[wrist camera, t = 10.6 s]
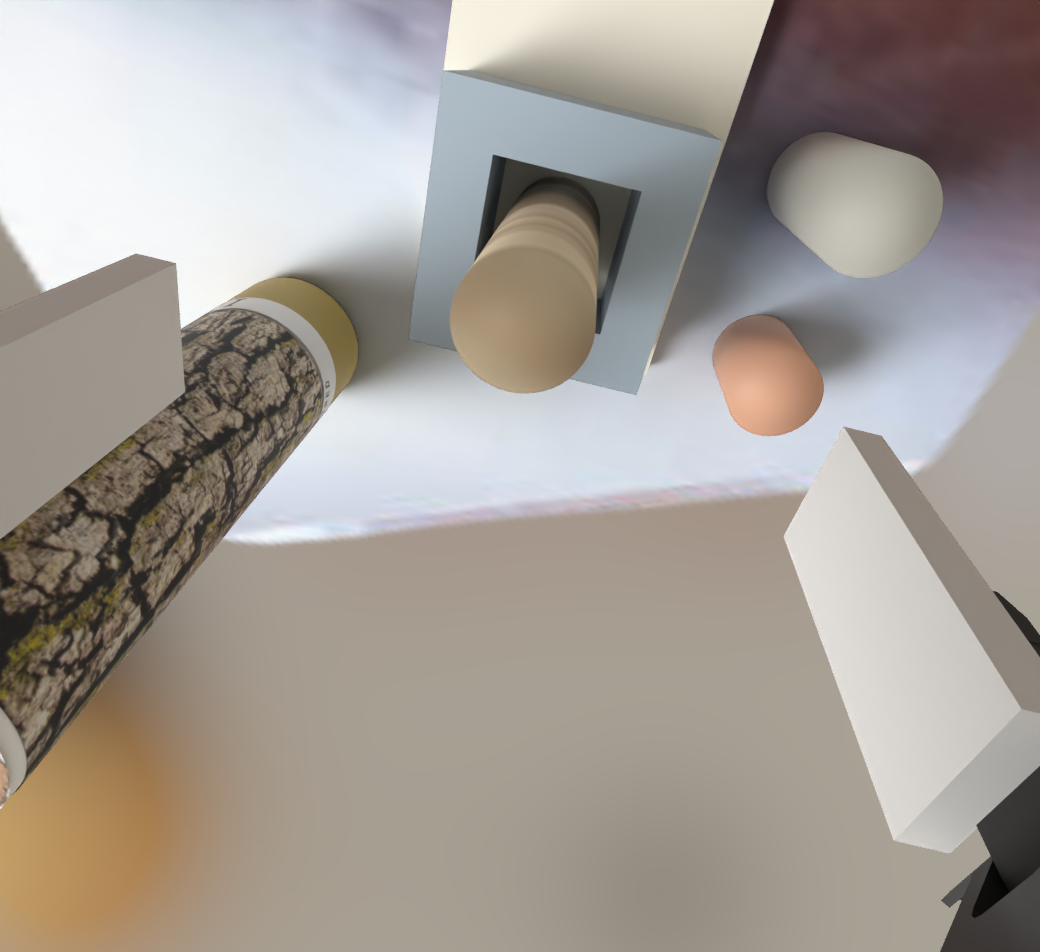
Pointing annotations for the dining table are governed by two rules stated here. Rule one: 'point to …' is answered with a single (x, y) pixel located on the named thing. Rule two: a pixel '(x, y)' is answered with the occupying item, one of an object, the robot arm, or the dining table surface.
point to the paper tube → (158, 506)
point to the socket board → (616, 69)
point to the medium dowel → (855, 202)
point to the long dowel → (532, 291)
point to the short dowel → (766, 376)
